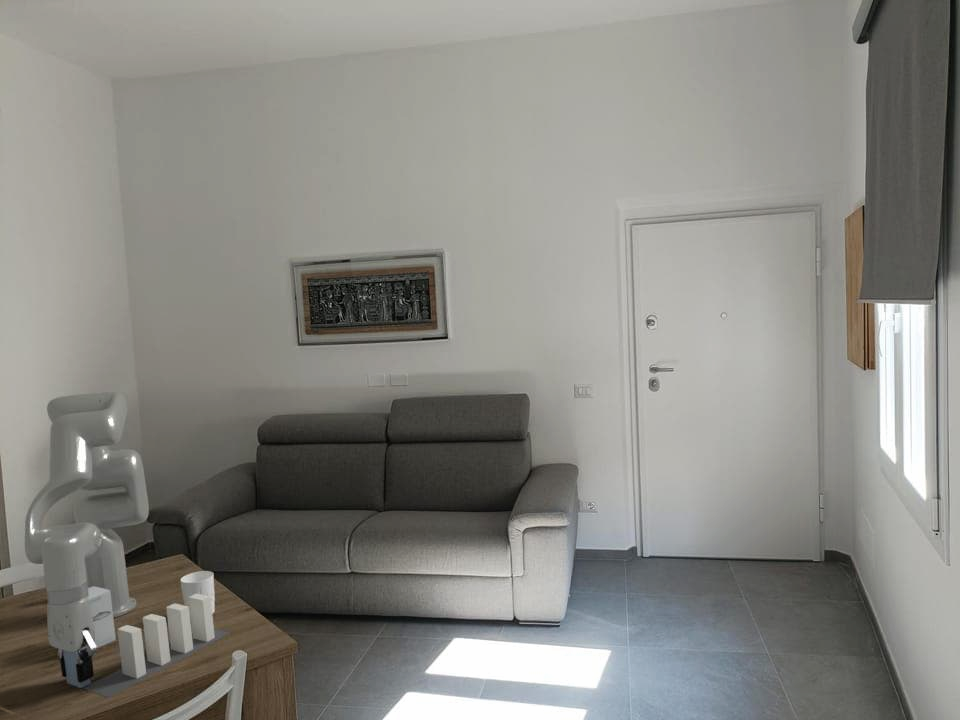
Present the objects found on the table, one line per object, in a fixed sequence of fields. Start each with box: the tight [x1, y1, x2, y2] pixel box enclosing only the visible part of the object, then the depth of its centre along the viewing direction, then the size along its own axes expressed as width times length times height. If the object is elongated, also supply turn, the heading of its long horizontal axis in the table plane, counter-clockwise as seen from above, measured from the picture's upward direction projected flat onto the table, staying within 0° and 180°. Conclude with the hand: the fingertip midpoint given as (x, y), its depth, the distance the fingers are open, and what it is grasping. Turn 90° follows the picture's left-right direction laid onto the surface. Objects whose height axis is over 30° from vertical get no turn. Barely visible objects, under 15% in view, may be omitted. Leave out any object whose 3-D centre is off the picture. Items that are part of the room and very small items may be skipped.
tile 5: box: [189, 594, 215, 642], centre depth 176 cm, size 2×5×10 cm, turn 59°
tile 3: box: [142, 613, 171, 666], centre depth 165 cm, size 2×5×10 cm, turn 59°
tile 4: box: [165, 603, 193, 653], centre depth 170 cm, size 2×5×10 cm, turn 59°
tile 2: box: [117, 624, 146, 678], centre depth 160 cm, size 2×5×10 cm, turn 59°
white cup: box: [179, 570, 216, 620], centre depth 190 cm, size 8×8×10 cm
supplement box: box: [88, 586, 116, 649], centre depth 177 cm, size 7×7×13 cm
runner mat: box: [82, 628, 231, 698], centre depth 167 cm, size 9×31×1 cm, turn 149°
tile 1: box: [63, 643, 92, 689], centre depth 158 cm, size 2×5×10 cm, turn 59°
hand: (78, 675), depth 158 cm, fingers closed on tile 1, 4 cm apart
